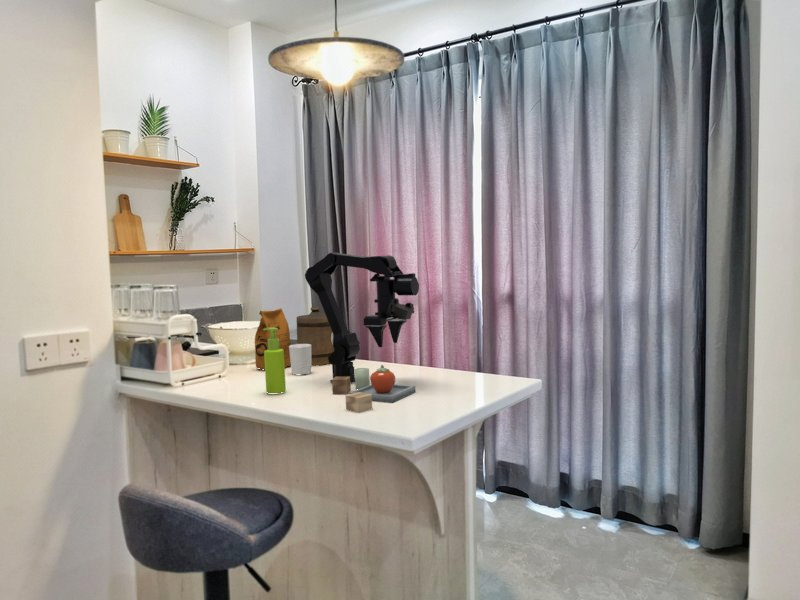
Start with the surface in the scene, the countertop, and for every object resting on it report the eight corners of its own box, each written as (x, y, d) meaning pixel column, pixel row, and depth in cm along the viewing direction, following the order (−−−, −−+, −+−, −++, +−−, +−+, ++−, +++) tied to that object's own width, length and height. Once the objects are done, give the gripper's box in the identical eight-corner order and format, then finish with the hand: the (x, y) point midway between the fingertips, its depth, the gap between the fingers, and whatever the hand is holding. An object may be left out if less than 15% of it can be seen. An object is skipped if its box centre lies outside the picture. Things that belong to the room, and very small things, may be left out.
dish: (350, 398, 183) (349, 392, 182) (375, 388, 195) (375, 382, 195) (392, 402, 176) (391, 396, 176) (415, 392, 188) (415, 386, 188)
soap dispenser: (277, 389, 199) (273, 326, 198) (289, 392, 195) (286, 327, 193) (260, 392, 195) (257, 328, 194) (273, 395, 190) (269, 329, 189)
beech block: (346, 410, 170) (345, 395, 170) (360, 406, 174) (359, 392, 174) (357, 413, 167) (357, 398, 166) (372, 409, 170) (371, 394, 170)
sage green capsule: (352, 389, 195) (351, 370, 194) (360, 386, 199) (359, 367, 198) (364, 390, 193) (364, 371, 192) (372, 387, 197) (371, 368, 196)
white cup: (317, 372, 225) (315, 344, 224) (302, 376, 218) (301, 347, 218) (300, 370, 229) (299, 343, 228) (285, 374, 223) (284, 346, 222)
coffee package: (251, 369, 235) (248, 310, 233) (277, 364, 244) (274, 307, 243) (269, 372, 228) (266, 311, 227) (295, 366, 238) (292, 308, 237)
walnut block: (332, 394, 189) (331, 379, 189) (336, 391, 194) (335, 376, 193) (347, 394, 189) (346, 379, 188) (350, 391, 193) (350, 376, 193)
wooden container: (343, 362, 243) (340, 305, 241) (309, 367, 235) (306, 308, 233) (325, 357, 255) (322, 303, 254) (291, 362, 247) (288, 306, 245)
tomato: (392, 388, 190) (391, 361, 189) (398, 393, 183) (397, 365, 182) (368, 390, 188) (366, 363, 187) (373, 395, 181) (372, 368, 180)
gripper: (393, 298, 186) (395, 350, 187) (422, 293, 202) (424, 341, 203) (361, 298, 191) (363, 349, 193) (392, 293, 208) (394, 340, 209)
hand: (388, 345), depth 199 cm, fingers open, 9 cm apart
